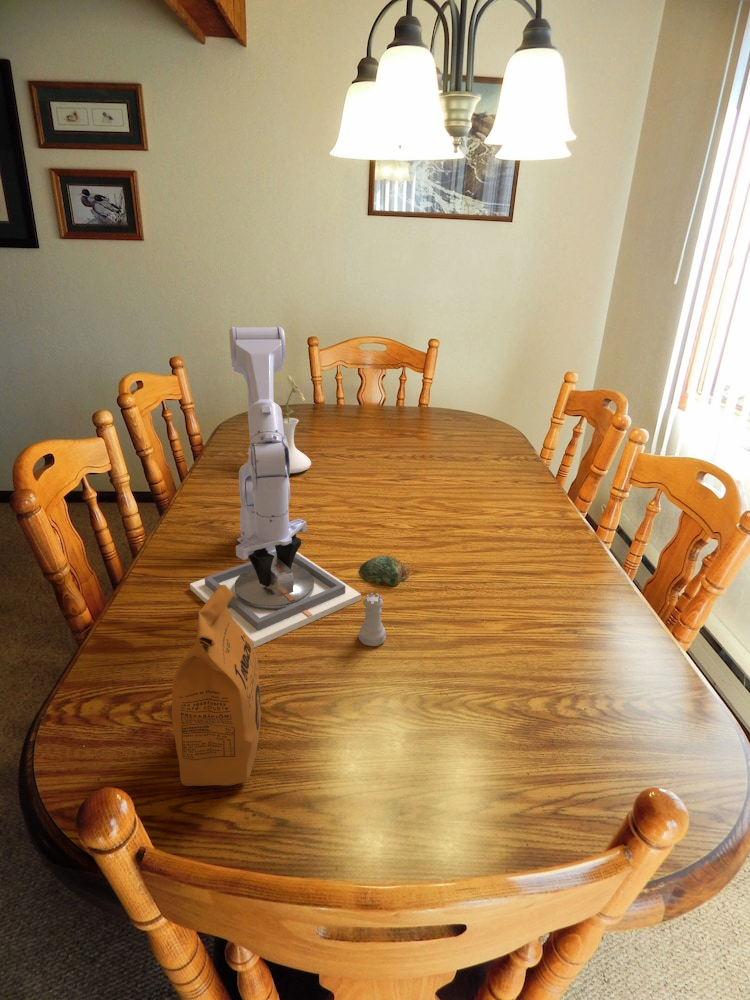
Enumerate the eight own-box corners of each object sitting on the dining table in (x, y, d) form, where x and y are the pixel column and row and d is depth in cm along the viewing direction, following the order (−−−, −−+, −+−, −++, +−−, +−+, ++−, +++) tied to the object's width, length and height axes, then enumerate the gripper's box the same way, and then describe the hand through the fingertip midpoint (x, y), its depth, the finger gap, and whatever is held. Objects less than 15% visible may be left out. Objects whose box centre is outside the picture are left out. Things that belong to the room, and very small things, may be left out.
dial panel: (190, 589, 113) (189, 576, 112) (291, 553, 127) (291, 541, 126) (254, 647, 98) (253, 633, 97) (360, 599, 112) (361, 586, 111)
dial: (254, 618, 103) (253, 591, 101) (222, 580, 114) (220, 555, 111) (328, 594, 110) (328, 568, 108) (291, 560, 121) (291, 537, 119)
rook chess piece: (370, 627, 104) (371, 586, 101) (391, 638, 102) (393, 596, 98) (352, 639, 101) (353, 597, 98) (374, 651, 98) (375, 608, 95)
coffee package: (273, 719, 84) (266, 579, 75) (251, 796, 73) (240, 641, 64) (200, 714, 85) (185, 574, 76) (168, 790, 73) (145, 636, 65)
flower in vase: (308, 477, 164) (307, 384, 154) (265, 476, 165) (261, 382, 154) (314, 460, 176) (313, 372, 166) (274, 459, 176) (270, 371, 166)
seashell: (401, 541, 125) (417, 565, 116) (402, 558, 126) (417, 584, 118) (352, 549, 123) (364, 575, 114) (354, 567, 124) (366, 594, 115)
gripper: (253, 531, 98) (257, 604, 104) (318, 504, 109) (319, 571, 114) (225, 518, 102) (230, 589, 108) (290, 493, 113) (292, 558, 118)
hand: (274, 579), depth 111 cm, fingers closed on dial, 4 cm apart
